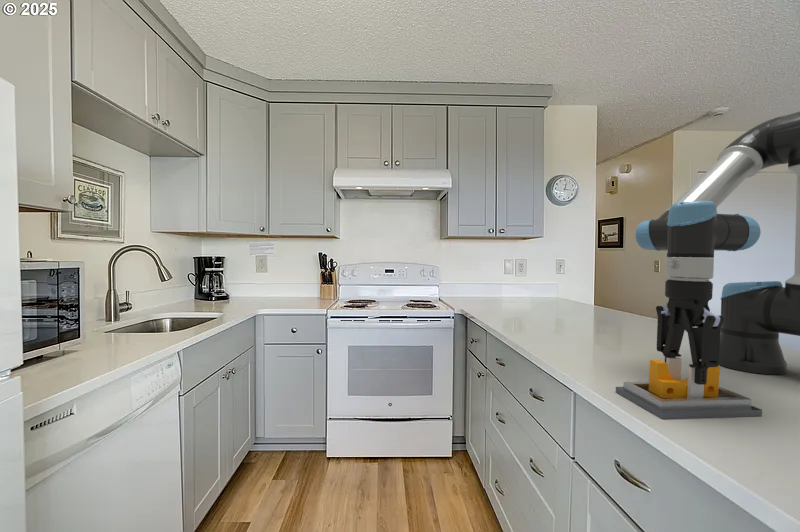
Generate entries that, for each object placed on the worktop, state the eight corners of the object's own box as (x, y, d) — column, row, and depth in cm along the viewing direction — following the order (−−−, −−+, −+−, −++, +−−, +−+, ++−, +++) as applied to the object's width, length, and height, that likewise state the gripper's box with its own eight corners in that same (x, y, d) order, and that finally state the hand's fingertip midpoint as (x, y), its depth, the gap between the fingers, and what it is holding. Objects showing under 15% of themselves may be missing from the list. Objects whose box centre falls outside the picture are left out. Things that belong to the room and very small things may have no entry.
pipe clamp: (662, 398, 73) (663, 366, 73) (648, 390, 78) (649, 359, 77) (725, 400, 73) (727, 368, 72) (708, 392, 77) (709, 361, 77)
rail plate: (700, 390, 83) (700, 378, 83) (761, 416, 70) (762, 402, 70) (615, 392, 81) (615, 380, 81) (662, 419, 68) (663, 404, 68)
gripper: (638, 276, 83) (634, 379, 84) (712, 283, 65) (705, 413, 66) (670, 276, 83) (665, 378, 84) (751, 283, 66) (744, 412, 67)
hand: (683, 393), depth 75 cm, fingers closed on pipe clamp, 5 cm apart
